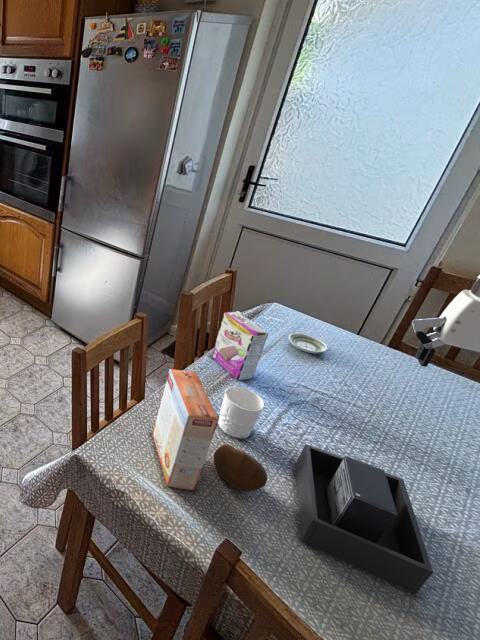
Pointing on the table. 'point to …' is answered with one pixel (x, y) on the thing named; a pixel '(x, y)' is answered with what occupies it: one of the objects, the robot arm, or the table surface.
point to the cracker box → (184, 429)
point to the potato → (239, 469)
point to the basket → (379, 559)
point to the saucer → (307, 343)
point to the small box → (360, 500)
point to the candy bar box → (239, 345)
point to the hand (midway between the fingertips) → (456, 371)
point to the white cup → (239, 411)
